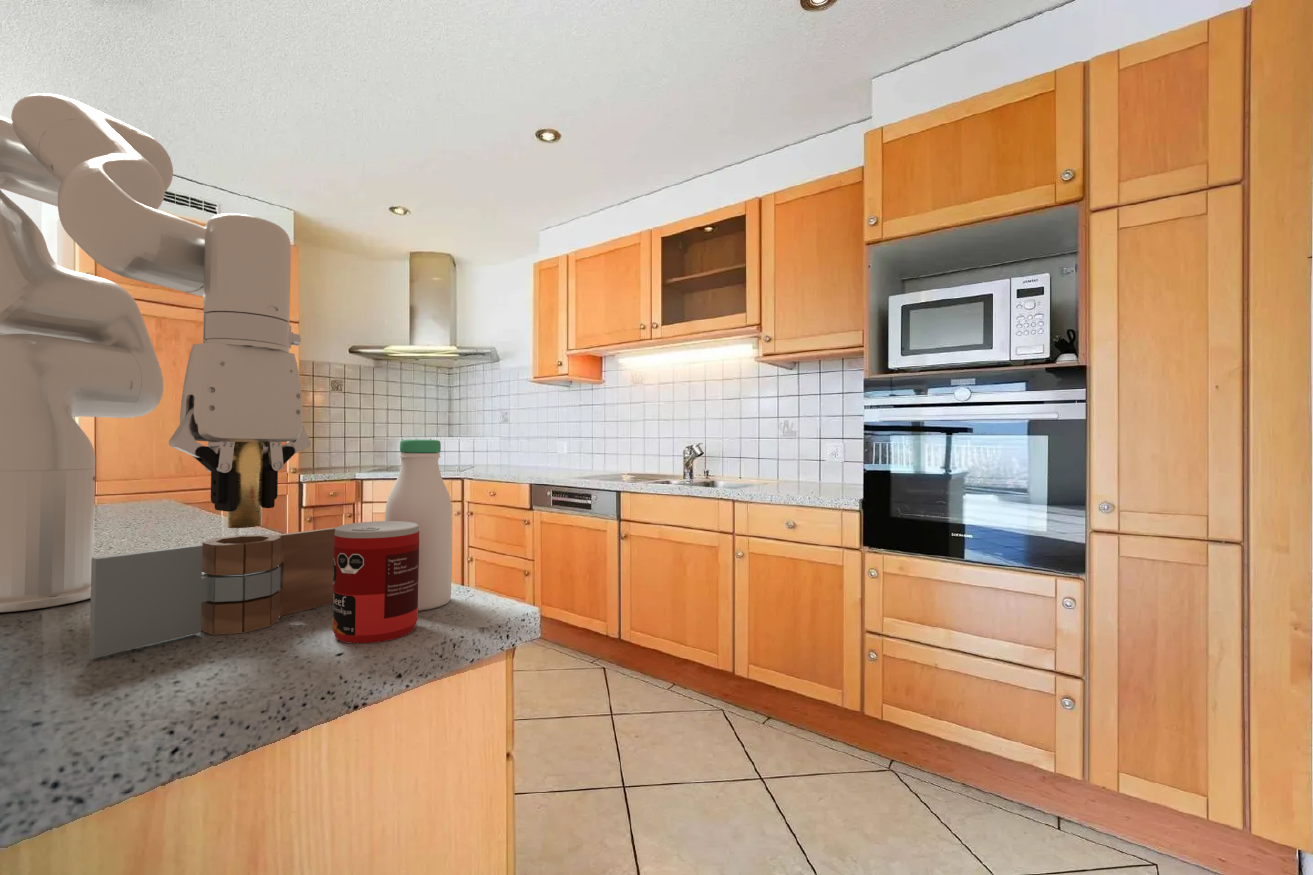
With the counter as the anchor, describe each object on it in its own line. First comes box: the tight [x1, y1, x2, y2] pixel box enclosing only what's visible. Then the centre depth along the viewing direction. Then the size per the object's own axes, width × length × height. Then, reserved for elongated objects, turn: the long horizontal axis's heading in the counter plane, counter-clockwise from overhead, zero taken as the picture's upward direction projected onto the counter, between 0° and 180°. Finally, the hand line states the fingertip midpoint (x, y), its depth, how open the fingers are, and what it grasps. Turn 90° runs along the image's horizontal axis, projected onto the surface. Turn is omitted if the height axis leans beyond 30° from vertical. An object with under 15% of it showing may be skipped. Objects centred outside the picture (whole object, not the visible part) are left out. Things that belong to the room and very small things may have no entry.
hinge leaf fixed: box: [201, 526, 337, 636], centre depth 66 cm, size 6×16×9 cm, turn 151°
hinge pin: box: [226, 442, 263, 529], centre depth 62 cm, size 3×3×10 cm
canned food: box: [331, 520, 419, 645], centre depth 60 cm, size 8×8×11 cm
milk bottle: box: [384, 438, 453, 612], centre depth 70 cm, size 8×8×20 cm
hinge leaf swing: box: [88, 544, 281, 659], centre depth 58 cm, size 6×15×9 cm, turn 151°
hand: (244, 507), depth 62 cm, fingers closed on hinge pin, 3 cm apart
